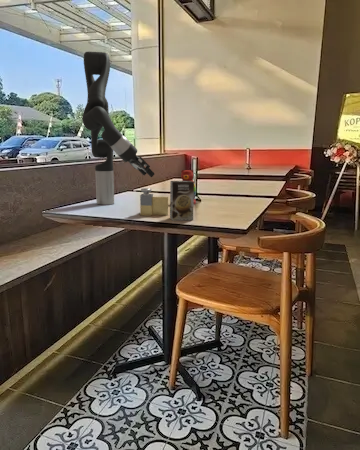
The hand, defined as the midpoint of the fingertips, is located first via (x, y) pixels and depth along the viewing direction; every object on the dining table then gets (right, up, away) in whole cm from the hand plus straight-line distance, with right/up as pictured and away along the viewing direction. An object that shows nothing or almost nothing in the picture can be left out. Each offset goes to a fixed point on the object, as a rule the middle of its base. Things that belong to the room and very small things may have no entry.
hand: (149, 174), depth 161 cm
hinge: (+2, -17, +6) cm, 18 cm away
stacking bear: (+17, -10, +38) cm, 43 cm away
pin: (-1, -17, +3) cm, 18 cm away
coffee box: (+14, -20, -6) cm, 25 cm away
